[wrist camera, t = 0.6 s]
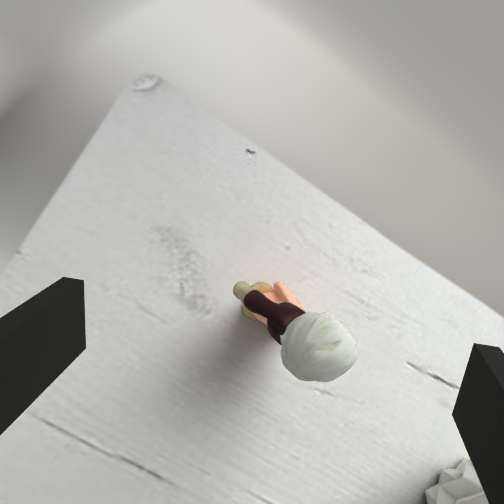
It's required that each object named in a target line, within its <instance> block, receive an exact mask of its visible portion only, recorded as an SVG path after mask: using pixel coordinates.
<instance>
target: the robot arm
mask: <svg viewBox="0 0 504 504" xmlns="http://www.w3.org/2000/svg"><path fill="white" fill-rule="evenodd" d="M85 349H86V335H85V304H84V280H79V279H73V278H67V277H63V278H61V279H59V280H58V281H56V282H55V283H53V284H52V285H50V286H49V287H47V288H46V289H44V290H43V291H41V292H40V293H38V294H37V295H35V296H33V297H32V298H30V299H29V300H27V301H26V302H24V303H23V304H21V305H20V306H18V307H17V308H15V309H14V310H12V311H11V312H9V313H7V314H6V315H4V316H3V317H1V318H0V435H1V434H2V433H3V432H4V431H5V430H6V429H7V428H8V427H9V426H10V425H11V424H12V423H13V422H14V421H15V420H16V419H17V418H18V417H19V416H20V415H21V414H22V413H23V412H24V411H25V410H26V409H27V408H28V407H29V406H30V405H31V404H32V403H33V402H34V401H35V399H36V398H37V397H38V396H39V395H40V394H41V393H42V392H43V391H44V390H45V389H46V388H47V387H48V386H49V385H50V384H51V383H52V382H53V381H54V380H55V379H56V378H57V377H58V376H59V375H60V374H61V373H62V372H63V371H64V370H65V369H66V368H67V367H68V366H69V365H70V364H71V363H72V362H73V361H74V360H75V359H76V358H77V357H78V356H79V355H80V354H81V353H82V352H83V351H84V350H85ZM452 416H453V418H454V420H455V423H456V425H457V428H458V430H459V433H460V435H461V437H462V440H463V442H464V445H465V447H466V450H467V452H468V454H469V457H470V459H471V462H472V464H473V466H474V469H475V471H476V474H477V476H478V479H479V481H480V483H481V486H482V488H483V491H484V493H485V496H486V498H487V500H488V503H489V504H504V353H503V352H502V350H501V349H500V348H499V347H494V346H488V345H482V344H475V343H474V345H473V348H472V351H471V354H470V358H469V361H468V364H467V367H466V371H465V374H464V377H463V380H462V384H461V387H460V390H459V393H458V397H457V400H456V403H455V406H454V410H453V413H452Z"/></svg>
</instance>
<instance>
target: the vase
mask: <svg viewBox="0 0 504 504" xmlns="http://www.w3.org/2000/svg"><path fill="white" fill-rule="evenodd" d="M425 492H426V499H427V504H489V503H488V500H487V498H486V496H485V493H484V491H483V488H482V486H481V483H480V481H479V479H478V476H477V474H476V471H475V469H474V466H473V464H472V462H471V461H470V460H468V459H466V458H464V459H463V460H462V461H461V462H460V464H459V465H458V466H457V468H456V469H442V470H441V474H440V478H439V481H438V484H436V485H434V486H433V487H431V488H429V489H427V490H425Z"/></svg>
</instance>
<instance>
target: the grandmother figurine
mask: <svg viewBox="0 0 504 504" xmlns="http://www.w3.org/2000/svg"><path fill="white" fill-rule="evenodd" d="M233 293H234V295H235V296H236V297H237V298H238V299H240V300H241V302H242V303H243V306H242V311H243V313H244V315H245V316H247V317H248V318H250V319H252V320H257V319H258V320H260V321H262V322H263V323H265V324H266V326H267V329H268V331H269V333H270V335H271V336H272V338H274V339H275V340H276V341H277V342H278V343H279V344H280V345H282V348H281V357H282V362H283V365H284V366H285V368H286V369H288V370H289V371H290V372H291V373H292V374H293V375H294V376H295V377H297V378H298V379H300V380H304V381H318V382H329V381H332V380H334V379H335V378H338V377H339V376H341V375H342V374H344V373H345V372H346V371H348V370H349V369H350V368H351V367H352V365H353V364H354V363H355V361H356V359H357V357H358V347H357V341H356V340H355V338H354V337H353V335H352V334H351V332H350V331H349V330H348V329H347V328H346V327H345V325H344V324H343V323H342V322H341V321H340V320H338V319H337V318H336V317H334V316H332V315H331V314H328V313H326V312H322V313H316V312H307V313H306V312H305V311H304V309H303V308H302V306H301V305H300V303H299V302H298V300H297V299H296V298H295V296H294V295H293V293H292V292H291V291H290V290H289V289H288V287H286V286H285V285H284V284H282V283H280V282H276V283H275V284H274V289H273V288H272V287H271V286H270V285H268V284H267V283H264V282H259V283H256V284H254V285H253V286H252V287H250V285H249V284H248V283H246V282H244V281H240V282H238V283H236V284H235V286H234V288H233Z"/></svg>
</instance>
